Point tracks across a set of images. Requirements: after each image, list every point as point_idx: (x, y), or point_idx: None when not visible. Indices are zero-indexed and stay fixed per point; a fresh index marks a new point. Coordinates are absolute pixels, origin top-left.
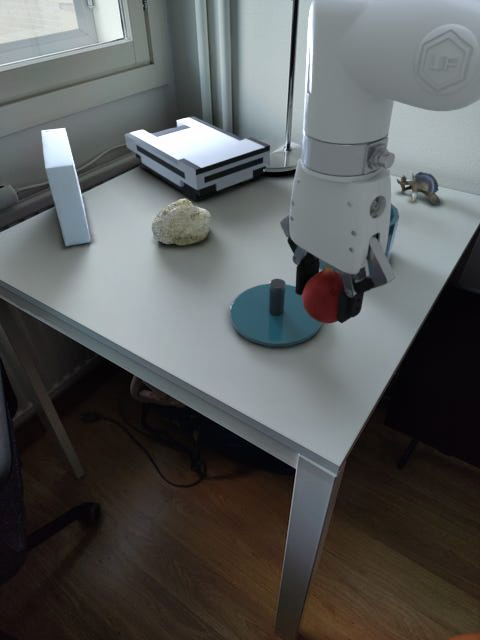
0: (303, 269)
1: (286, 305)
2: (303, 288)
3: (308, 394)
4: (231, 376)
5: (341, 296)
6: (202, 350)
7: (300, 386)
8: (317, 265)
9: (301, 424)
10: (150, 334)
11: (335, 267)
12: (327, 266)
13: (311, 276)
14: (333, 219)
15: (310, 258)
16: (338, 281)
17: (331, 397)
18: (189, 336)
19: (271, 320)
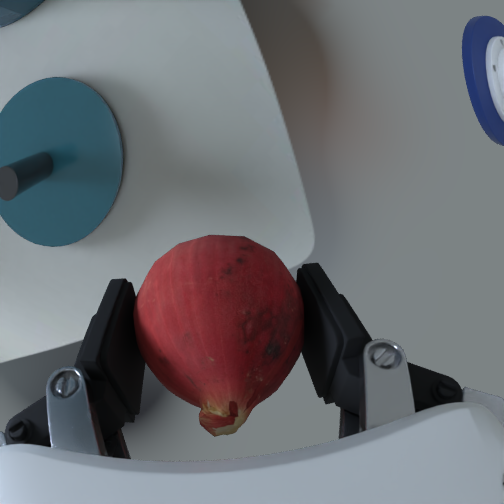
0: (136, 411)
1: (38, 140)
2: None
3: (220, 222)
4: None
5: (326, 396)
6: (73, 295)
7: (200, 222)
8: (112, 351)
9: None
10: (33, 326)
11: (24, 6)
12: (221, 434)
13: (129, 345)
14: None
15: (110, 411)
16: (276, 386)
17: (246, 197)
18: (45, 295)
19: (57, 186)
